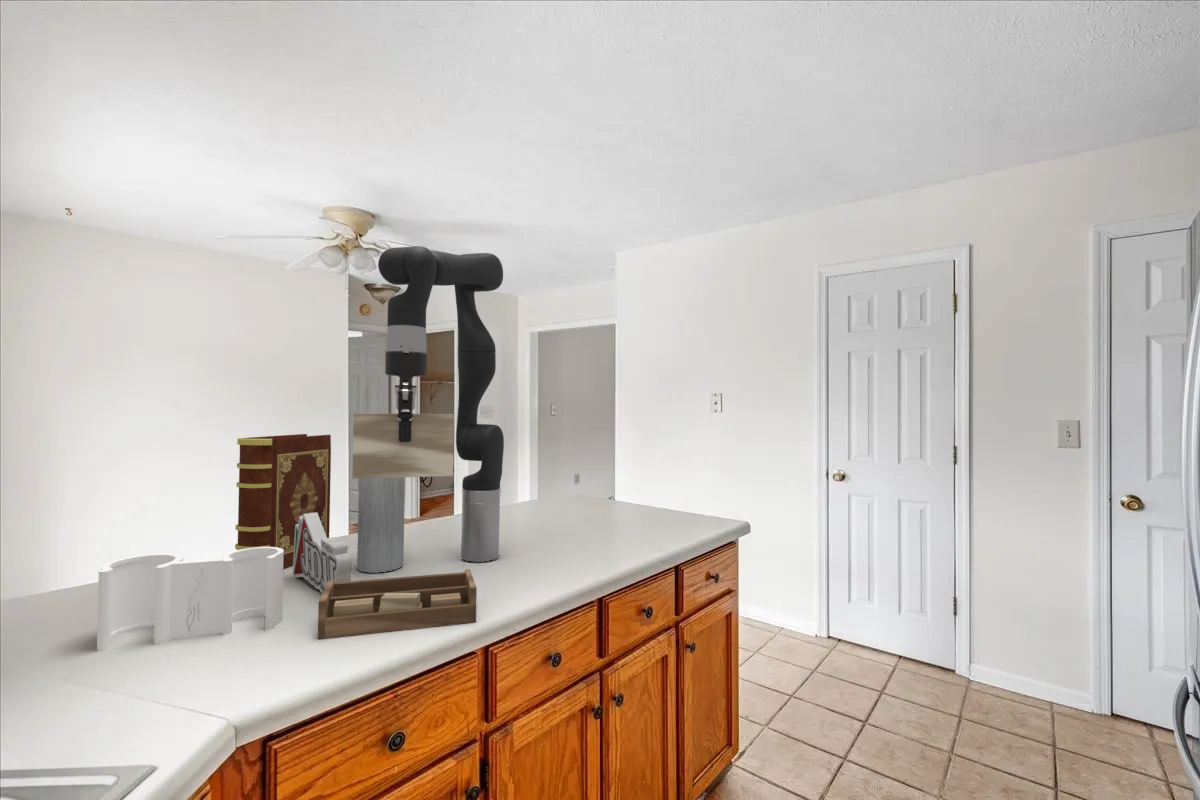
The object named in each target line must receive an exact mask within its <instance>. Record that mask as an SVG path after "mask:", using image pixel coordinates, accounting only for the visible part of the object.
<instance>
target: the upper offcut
mask: <svg viewBox="0 0 1200 800" xmlns="http://www.w3.org/2000/svg"><path fill="white" fill-rule="evenodd" d="M419 605H420V593H385V594H384V595H383V596H382V597H381V601H380V610H409V609H417V608H418V606H419Z"/></svg>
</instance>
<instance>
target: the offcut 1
mask: <svg viewBox="0 0 1200 800" xmlns="http://www.w3.org/2000/svg"><path fill="white" fill-rule="evenodd" d="M373 606H374V598H364V599H353V600H342V601H336V602H335V604H334V610H333V617H337V616H347V615H358V614H368V613H373Z"/></svg>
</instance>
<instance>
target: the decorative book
mask: <svg viewBox="0 0 1200 800" xmlns="http://www.w3.org/2000/svg"><path fill="white" fill-rule="evenodd" d="M331 437H332V436H331V434H320V435H319V434H318V435H308V434H307V433H301V434H300V433H299V434H298V433H297V434H284V435H270V436H269V435H268V436H253V437H252V436H251V437H238V438H237V439H236V440H237V442H236V443H237V445H239V461H238V463H237V462H236V468H237V469H238V471H239V473H238V482H236V483H235V485H236V487H237V488H238V506H237V507H238V508H237V509H238V512H237V517H238V518H237V524H236V525H235V530H236V531H237V543H235V544H234V549H235V550H236V551H237V550H241V549H247V548H255V547H277V548H281V549H283V550H284V555H283V570H284V569H286V568H289V567H291V566H292V567H293V558H294V538H295V525H296V524H298V521H299V516H303V514H308V513H316V512H317V513H318V516H319V518H320V521H321V524H322V526H323V529H324V531H325V534H326V537H327V538H330V525H331V524H330V521H331V520H330V517H331V515H330V514H331V472H332V471H331V470H332V469H331V466H332V465H331V464H332V438H331Z"/></svg>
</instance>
